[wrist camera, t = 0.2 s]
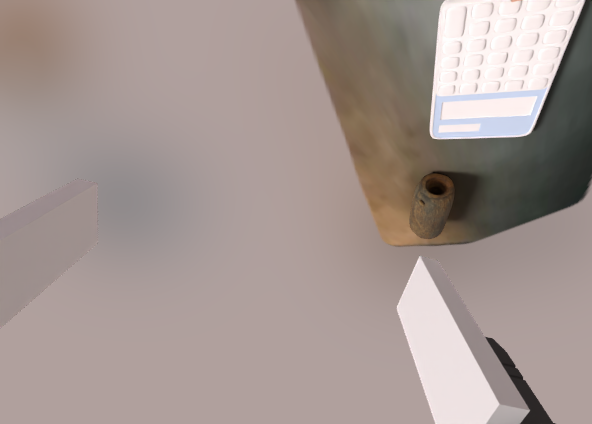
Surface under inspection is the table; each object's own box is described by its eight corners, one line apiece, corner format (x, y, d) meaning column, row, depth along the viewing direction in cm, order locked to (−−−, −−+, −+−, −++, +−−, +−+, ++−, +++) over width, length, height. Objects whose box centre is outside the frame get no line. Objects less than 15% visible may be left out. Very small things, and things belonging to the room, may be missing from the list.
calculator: (590, -27, 33) (595, -17, 32) (529, 129, 49) (531, 138, 48) (440, -4, 37) (440, 5, 36) (428, 132, 53) (428, 141, 52)
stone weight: (411, 168, 60) (410, 200, 57) (455, 168, 58) (457, 200, 54) (409, 215, 72) (408, 244, 69) (446, 216, 70) (447, 246, 66)
